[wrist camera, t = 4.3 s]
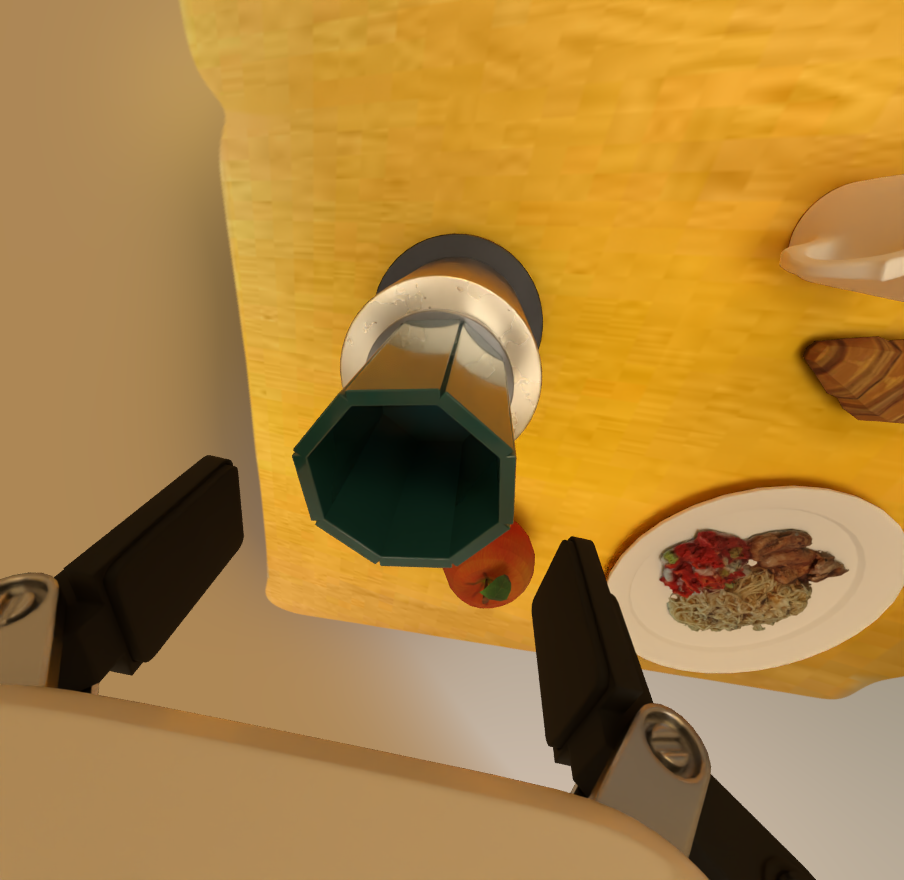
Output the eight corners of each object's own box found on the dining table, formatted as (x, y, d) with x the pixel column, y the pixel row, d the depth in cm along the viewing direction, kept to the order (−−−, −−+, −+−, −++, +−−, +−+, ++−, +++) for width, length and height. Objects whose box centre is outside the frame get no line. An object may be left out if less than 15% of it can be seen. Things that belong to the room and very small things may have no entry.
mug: (911, 163, 24) (1225, 116, 14) (881, 273, 27) (1120, 302, 17) (737, 207, 26) (900, 195, 16) (727, 305, 29) (858, 350, 19)
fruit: (432, 540, 44) (418, 616, 36) (469, 482, 40) (464, 554, 31) (502, 570, 46) (505, 650, 37) (547, 518, 41) (562, 596, 33)
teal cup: (430, 287, 18) (384, 337, 10) (532, 386, 19) (562, 493, 12) (347, 388, 20) (260, 489, 13) (443, 465, 22) (419, 594, 15)
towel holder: (452, 187, 27) (424, 157, 15) (576, 325, 31) (631, 388, 19) (343, 329, 33) (260, 388, 21) (459, 430, 37) (445, 529, 25)
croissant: (768, 383, 32) (812, 408, 28) (832, 304, 29) (893, 319, 24) (903, 432, 33) (965, 463, 29) (980, 362, 30) (1063, 385, 25)
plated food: (787, 674, 51) (805, 701, 48) (568, 638, 51) (573, 663, 48) (969, 503, 36) (1012, 528, 33) (659, 453, 36) (674, 473, 33)
